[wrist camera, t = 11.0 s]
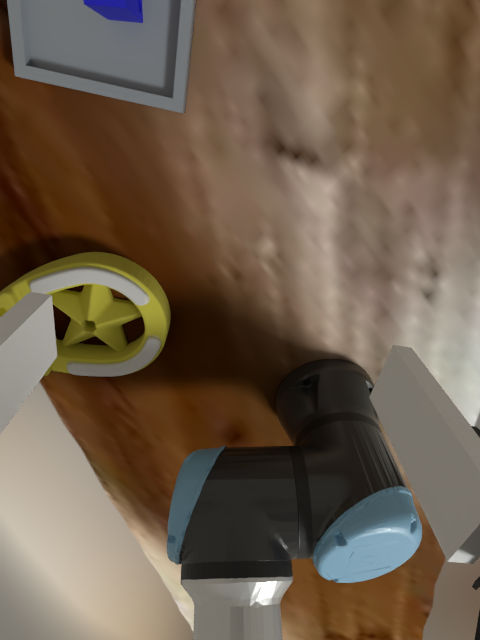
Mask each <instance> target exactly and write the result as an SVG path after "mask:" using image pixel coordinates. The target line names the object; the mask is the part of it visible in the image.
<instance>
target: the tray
mask: <svg viewBox="0 0 480 640" xmlns="http://www.w3.org/2000/svg"><path fill="white" fill-rule="evenodd" d="M7 5H8V15H9V24H10V34H11V43H12V52H13V62H14V71H15V76H17V77H21V78H26V79H30V80H35V81H39V82H44V83H48V84H53V85H58V86H62V87H67V88H71V89H76V90H80V91H85V92H89V93H94V94H98V95H103V96H107V97H112V98H116V99H121V100H125V101H130V102H134V103H139V104H143V105H148V106H153V107H157V108H162V109H166V110H171V111H175V112H180V113H185V107H186V97H187V87H188V77H189V67H190V57H191V47H192V37H193V27H194V18H195V8H196V0H142V9H143V23H136V22H126V21H115V20H108V19H106V18H105V17H103V16H102V15H100V14H98V13H97V12H95V11H94V10H92V9H91V8H89V7H88V6H86V5H85V4H84V1H83V0H7Z"/></svg>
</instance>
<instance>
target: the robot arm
mask: <svg viewBox="0 0 480 640" xmlns="http://www.w3.org/2000/svg"><path fill="white" fill-rule="evenodd" d="M56 358H57V348H56V336H55V325H54V314H53V302H52V295H48V294H41V293H35V292H29V293H28V294H27V295H26V296H24V297H23V298H22V299H21V300H20V301H19V302H18V303H16V304H15V305H14V306H13V307H12V308H11V309H9V310H8V311H7V312H6V313H5V314H4V315H3V316H1V317H0V434H1V433H2V431H3V430H4V429H5V427H6V426H7V425H8V423H9V422H10V420H11V419H12V418H13V416H14V415H15V413H16V412H17V411H18V409H19V408H20V407H21V405H22V404H23V403H24V401H25V400H26V399H27V397H28V396H29V394H30V393H31V392H32V390H33V389H34V388H35V386H36V385H37V384H38V382H39V381H40V379H41V378H42V377H43V375H44V374H45V373H46V371H47V370H48V368H49V367H50V366H51V364H52V363H53V362H54V360H55V359H56ZM276 409H277V415H278V418H279V421H280V423H281V425H282V427H283V428H284V430H285V431H286V433H287V435H288V437H289V438H290V440H291V441H292V443H293V445H294V446H268V447H231V448H228V447H227V446H221V447H220V448H212V449H200V450H196V451H194V452H192V453H191V454H189V455H188V456H187V458H186V459H185V460H184V462H183V464H182V466H181V469H180V471H179V474H178V477H177V481H176V484H175V488H174V492H173V497H172V502H171V508H170V514H169V521H168V539H167V554H168V558H169V559H170V560H171V561H172V562H174V563H175V564H177V565H178V564H181V563H182V567H181V585H182V586H183V588H184V589H185V590H186V591H187V593H188V594H189V595H190V597H191V598H192V600H193V602H194V605H195V608H194V633H193V635H194V636H193V640H282V626H281V611H280V601H281V598H282V596H283V595H284V593H285V592H286V590H287V589H288V587H289V586H290V584H291V583H292V581H293V575H292V563H291V561H292V559H309V558H313V564H314V565H315V567H316V568H317V571H318V572H319V574H320V575H321V576H322V577H324V578H325V579H327V580H334V581H335V582H338V583H352V582H360V581H365V580H369V579H372V578H375V577H378V576H381V575H383V574H385V573H388V572H390V571H392V570H394V569H395V568H397V567H399V566H400V565H402V564H403V563H404V562H406V561H407V560H408V559H409V558H410V557H411V556H412V555H413V554H414V552H415V551H416V550H417V548H418V546H419V544H420V541H421V538H422V526H421V522H420V519H419V517H418V514H417V511H416V508H415V506H414V503H413V497H412V494H411V492H410V490H409V489H408V488H407V486H406V484H405V482H404V480H403V477H402V475H401V473H400V471H399V469H398V467H397V464H396V462H395V460H394V458H393V456H392V453H391V451H390V449H389V447H388V445H387V443H386V440H385V438H384V436H383V434H382V432H381V429H380V427H379V419H380V421H381V423H382V425H383V427H384V429H385V431H386V434H387V436H388V438H389V440H390V442H391V444H392V446H393V448H394V450H395V452H396V454H397V457H398V459H399V461H400V463H401V465H402V467H403V469H404V471H405V473H406V475H407V478H408V480H409V482H410V484H411V486H412V488H413V490H414V492H415V494H416V496H417V498H418V501H419V503H420V505H421V507H422V509H423V511H424V513H425V515H426V517H427V519H428V522H429V524H430V526H431V528H432V530H433V532H434V534H435V536H436V538H437V540H438V542H439V545H440V547H441V549H442V551H443V553H444V555H445V557H446V559H447V561H448V562H460V563H471V564H473V563H474V562H475V561H476V560H477V559H478V558H479V557H480V430H479V429H478V428H477V427H473V426H470V424H469V423H468V422H467V420H466V419H465V418H464V416H463V415H462V414H461V412H460V411H459V410H458V409H457V407H456V406H455V405H454V403H453V402H452V401H451V399H450V398H449V397H448V395H447V394H446V393H445V391H444V390H443V389H442V387H441V386H440V385H439V384H438V382H437V381H436V380H435V378H434V377H433V376H432V374H431V373H430V372H429V370H428V369H427V368H426V366H425V365H424V364H423V362H422V361H421V360H420V358H419V357H418V356H417V355H416V353H415V352H414V351H413V349H412V348H409V347H403V346H396V345H393V347H392V349H391V351H390V353H389V356H388V358H387V360H386V362H385V364H384V366H383V369H382V371H381V373H380V375H379V377H378V379H377V381H376V384H375V386H374V384H373V382H372V380H371V378H370V376H369V375H368V374H367V372H366V371H364V370H363V369H362V368H361V367H359V366H357V365H355V364H353V363H350V362H347V361H343V360H320V361H315V362H312V363H309V364H306V365H304V366H302V367H300V368H298V369H296V370H295V371H293V372H292V373H291V374H289V375H288V376H287V377H286V378H285V379H284V381H283V382H282V383H281V385H280V386H279V388H278V391H277V394H276ZM472 587H473V588H474V589H478V587H480V577H479V578H478V579H477V580H476V581H475V582H474V584H473V586H472ZM475 640H480V611H479V617H478V623H477V629H476V635H475Z"/></svg>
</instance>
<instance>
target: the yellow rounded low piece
mask: <svg viewBox="0 0 480 640" xmlns="http://www.w3.org/2000/svg"><path fill="white" fill-rule="evenodd" d="M81 285H84V288H83V290H82V292H76V291H70V290H65V289H68V288H72V287H76V286H81ZM110 288H112V289H114V290H116V291H118V292H120V293H122V294H123V295H125V296H126V297H128V298H129V299H130V300H131V301H128V300H122V299H117V298H114V297H113V296H112V293H111V290H110ZM29 292H35V293H41V294H48V295H52V302H53V305H54V306H56V307H57V308H59V309H60V310H61V311H63V312H64V313H65V314H67V315H68V316H69V317H70V318H71V321H70V324H69V326H68V329H67V331H66V334H65V337H64V339H63V340H58V339H57V338H56V348H57V358H56V359H55V360H54V362H53V363H52V364H51V366H50V367H49V368H48V370H47V371H46V373H45V374H44V375H43V376H46V375H48V374H49V373H50V371H58V372H64V373H71V374H73V375H82V376H121V375H126V374H130V373H133V372H136V371H139V370H141V369H143V368H144V367H146V366H148V365H149V364H150V363H152V362H153V361H154V360H155V359H156V358H157V356H158V355H159V354H160V352H161V351H162V349H163V347H164V344H165V341H166V338H167V334H168V330H169V327H170V320H171V313H170V306H169V302H168V299H167V297H166V295H165V293H164V291H163V289H162V287H161V286H160V284H159V283H158V282H157V281H156V279H155V278H154V277H153V276H152V275H151V274H150V273H149V272H148V271H146V270H145V269H144V268H142V267H141V266H139V265H138V264H136V263H135V262H133V261H131V260H129V259H126V258H124V257H121V256H118V255H115V254H110V253H104V252H86V253H81V254H76V255H72V256H68V257H65V258H61V259H58V260H55V261H53V262H50V263H47V264H45V265H43V266H40V267H38V268H36V269H34V270H32V271H30V272H28V273H27V274H25V275H23V276H22V277H20V278H19V279H17V280H16V281H14V282H13V283H11V284H10V285H8V286H7V287H6V288H4V289H3V290H2V291H0V317H1V316H3V315H4V314H5V313H6V312H7V311H8V310H9V309H11V308H12V307H13V306H14V305H15V304H16V303H18V302H19V301H20V300H21V299H22V298H23V297H24V296H26V295H27V294H28V293H29ZM141 316H142V317H143V320H144V324H145V332H144V334H143V335H142V336H141V337H140V338H138V339H137V340H135V341H133V342H131V343H128V342H127V339H126V336H125V333H124V330H123V327H122V324H125V323H127V322H129V321H132V320H134V319H137V318H139V317H141ZM93 336H96V337H98V338H99V339H101V340H102V341H103V342H105V343H106V344H107V345H109V346H105V345H90V344H81V343H79V342H81V341H84V340H86V339H89V338H91V337H93Z"/></svg>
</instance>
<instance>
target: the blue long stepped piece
mask: <svg viewBox="0 0 480 640" xmlns="http://www.w3.org/2000/svg"><path fill="white" fill-rule="evenodd" d="M83 1H84V4H85V5H86V6H88V7H89V8H91V9H92V10H94V11H95V12H97V13H98V14H100V15H102V16H103V17H105V18H106V19H108V20H115V21H126V22H136V23H143V9H142V0H83Z"/></svg>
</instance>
